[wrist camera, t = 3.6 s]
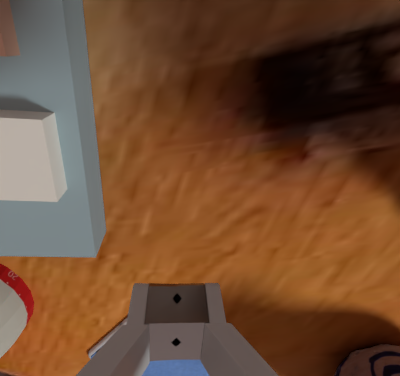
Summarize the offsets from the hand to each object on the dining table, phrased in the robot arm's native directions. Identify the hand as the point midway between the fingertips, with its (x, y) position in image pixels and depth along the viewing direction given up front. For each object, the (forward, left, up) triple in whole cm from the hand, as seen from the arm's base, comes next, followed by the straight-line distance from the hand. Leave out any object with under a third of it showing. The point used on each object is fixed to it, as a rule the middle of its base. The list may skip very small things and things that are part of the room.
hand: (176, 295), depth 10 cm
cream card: (+13, 0, -13) cm, 19 cm away
